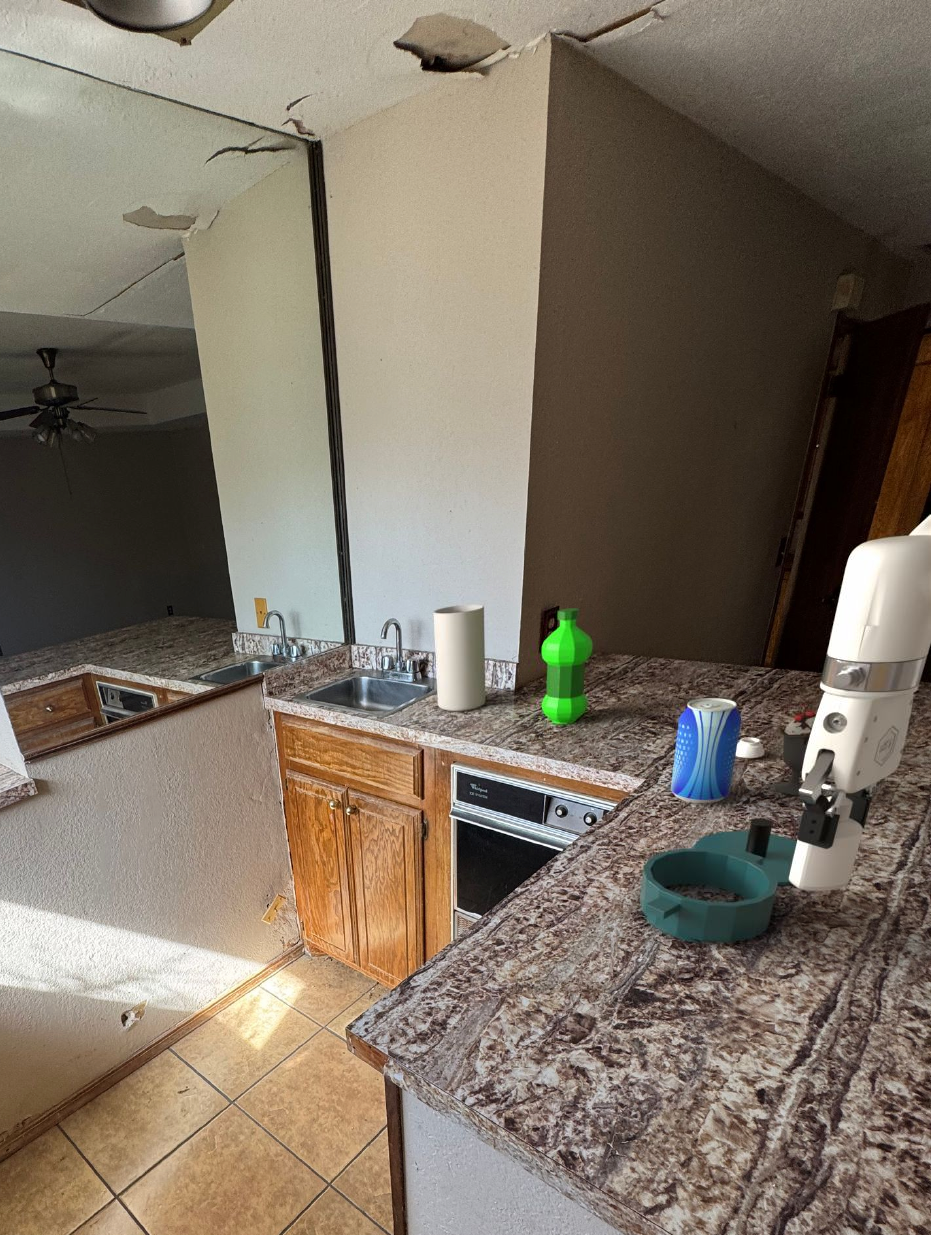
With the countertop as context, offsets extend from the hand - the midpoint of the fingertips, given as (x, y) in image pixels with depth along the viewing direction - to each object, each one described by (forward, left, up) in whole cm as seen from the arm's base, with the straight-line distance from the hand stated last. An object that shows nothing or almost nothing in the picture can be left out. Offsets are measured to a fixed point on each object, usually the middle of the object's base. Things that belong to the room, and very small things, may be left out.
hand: (830, 833), depth 72 cm
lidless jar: (+33, -44, -11) cm, 56 cm away
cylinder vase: (+103, -36, -11) cm, 110 cm away
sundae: (+20, -34, -11) cm, 41 cm away
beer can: (+28, -22, -11) cm, 37 cm away
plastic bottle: (+73, -41, -11) cm, 85 cm away
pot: (+8, +8, -11) cm, 16 cm away
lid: (+11, -8, -11) cm, 17 cm away
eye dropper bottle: (0, 0, -7) cm, 7 cm away
